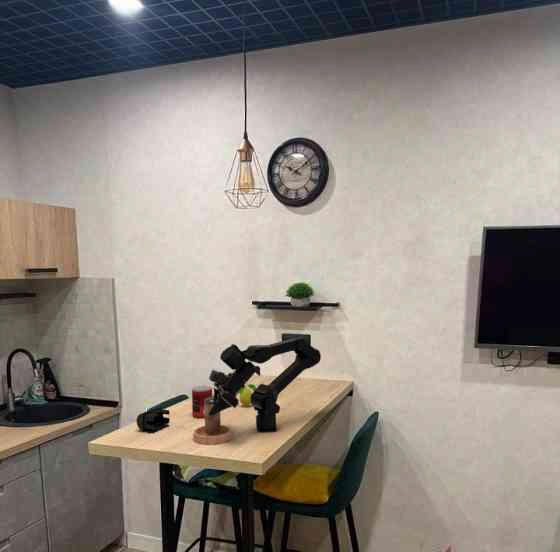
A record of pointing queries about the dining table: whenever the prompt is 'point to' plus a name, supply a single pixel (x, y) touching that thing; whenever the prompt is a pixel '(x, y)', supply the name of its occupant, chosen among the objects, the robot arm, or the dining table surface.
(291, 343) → the robot arm
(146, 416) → the end cap
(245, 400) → the lemon
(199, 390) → the canned food
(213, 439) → the terracotta dish
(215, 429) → the pepper mill
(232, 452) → the dining table surface
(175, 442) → the dining table surface
